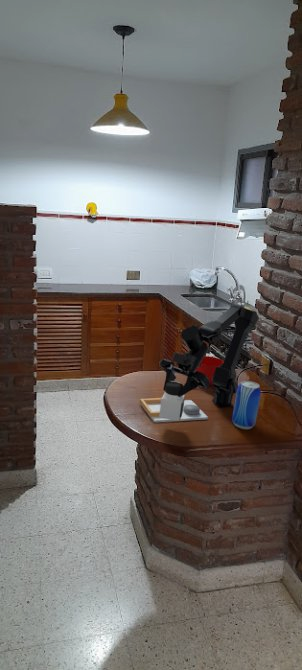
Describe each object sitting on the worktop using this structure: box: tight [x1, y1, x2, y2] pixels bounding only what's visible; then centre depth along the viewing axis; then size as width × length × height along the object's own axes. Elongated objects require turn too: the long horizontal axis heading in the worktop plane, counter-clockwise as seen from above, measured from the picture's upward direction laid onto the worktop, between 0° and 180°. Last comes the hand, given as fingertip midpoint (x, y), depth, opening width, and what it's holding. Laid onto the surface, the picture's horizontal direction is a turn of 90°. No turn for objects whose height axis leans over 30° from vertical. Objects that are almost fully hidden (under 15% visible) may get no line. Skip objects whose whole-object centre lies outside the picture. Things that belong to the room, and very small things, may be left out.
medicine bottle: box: [159, 380, 186, 422], centre depth 168 cm, size 7×7×12 cm
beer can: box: [231, 380, 262, 430], centre depth 177 cm, size 8×8×16 cm
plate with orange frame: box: [139, 397, 209, 424], centre depth 183 cm, size 22×15×2 cm
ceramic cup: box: [195, 355, 224, 386], centre depth 215 cm, size 13×17×10 cm
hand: (171, 393), depth 166 cm, fingers closed on medicine bottle, 6 cm apart
